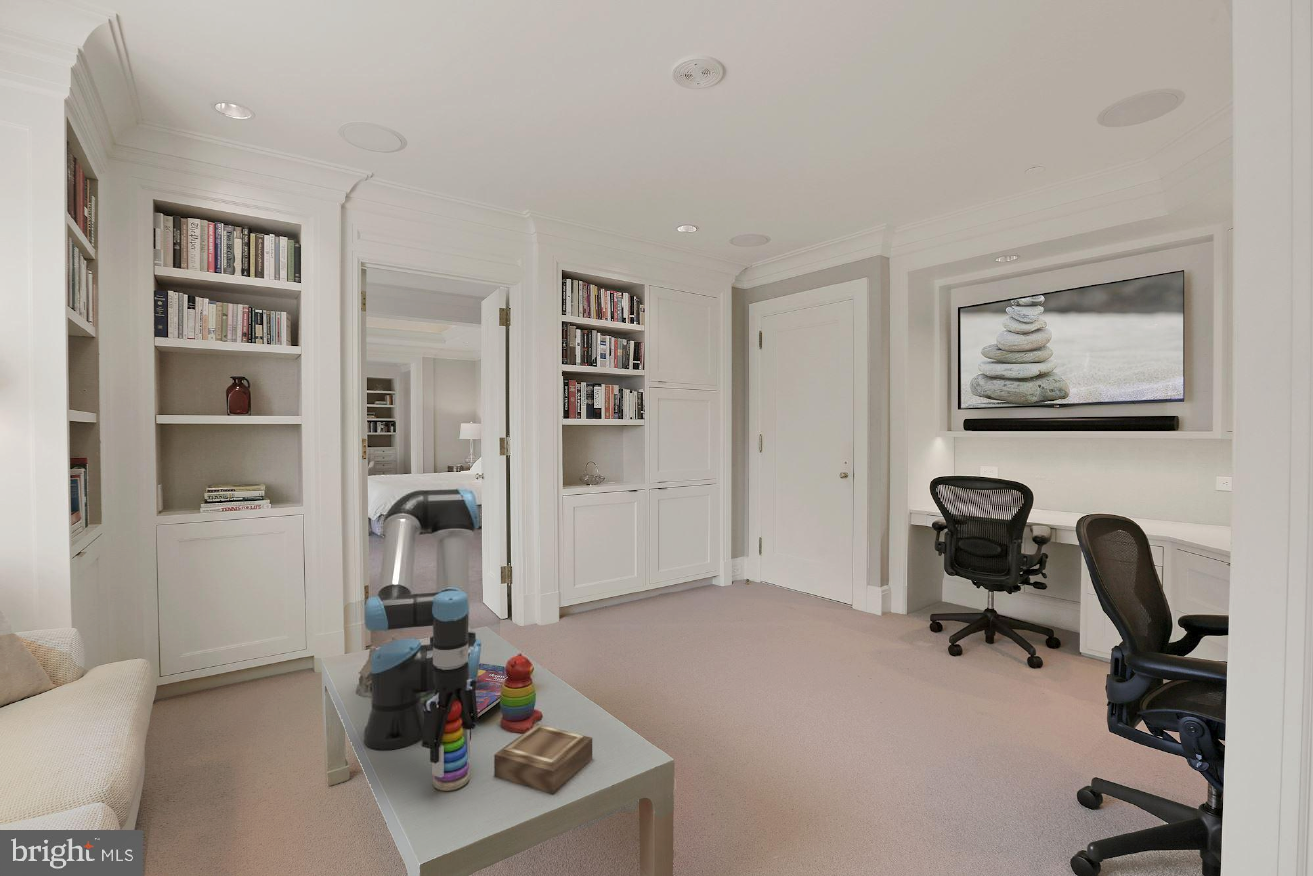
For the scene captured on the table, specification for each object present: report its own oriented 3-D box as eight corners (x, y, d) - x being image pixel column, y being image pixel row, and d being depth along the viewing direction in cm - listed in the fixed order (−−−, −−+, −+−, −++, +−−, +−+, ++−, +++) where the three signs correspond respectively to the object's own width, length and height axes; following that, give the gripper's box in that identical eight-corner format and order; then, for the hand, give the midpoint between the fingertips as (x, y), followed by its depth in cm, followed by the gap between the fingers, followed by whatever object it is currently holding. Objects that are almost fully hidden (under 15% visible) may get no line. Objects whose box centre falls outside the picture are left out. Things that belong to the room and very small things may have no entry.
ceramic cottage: (353, 686, 188) (355, 638, 188) (409, 676, 198) (412, 630, 197) (362, 709, 176) (364, 657, 175) (422, 697, 185) (425, 647, 184)
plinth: (494, 776, 140) (494, 750, 140) (537, 743, 155) (537, 720, 155) (553, 794, 133) (553, 767, 133) (592, 758, 148) (592, 734, 148)
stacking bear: (528, 734, 159) (528, 665, 159) (492, 730, 161) (492, 662, 161) (544, 715, 170) (544, 650, 170) (510, 712, 172) (510, 648, 172)
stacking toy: (474, 771, 142) (473, 690, 142) (464, 792, 134) (464, 706, 134) (439, 772, 142) (438, 691, 141) (427, 793, 134) (427, 706, 133)
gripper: (428, 683, 127) (429, 794, 127) (494, 651, 145) (495, 748, 145) (401, 677, 130) (402, 785, 130) (469, 646, 148) (470, 741, 148)
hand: (451, 766), depth 138 cm, fingers closed on stacking toy, 7 cm apart
